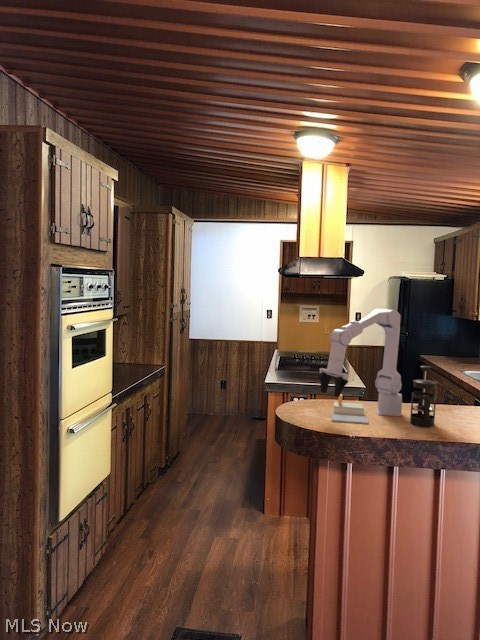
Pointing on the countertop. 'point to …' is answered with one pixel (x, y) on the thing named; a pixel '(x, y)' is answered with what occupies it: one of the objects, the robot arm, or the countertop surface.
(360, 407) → the lid
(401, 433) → the countertop surface
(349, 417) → the mat
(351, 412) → the tub
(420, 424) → the french press
